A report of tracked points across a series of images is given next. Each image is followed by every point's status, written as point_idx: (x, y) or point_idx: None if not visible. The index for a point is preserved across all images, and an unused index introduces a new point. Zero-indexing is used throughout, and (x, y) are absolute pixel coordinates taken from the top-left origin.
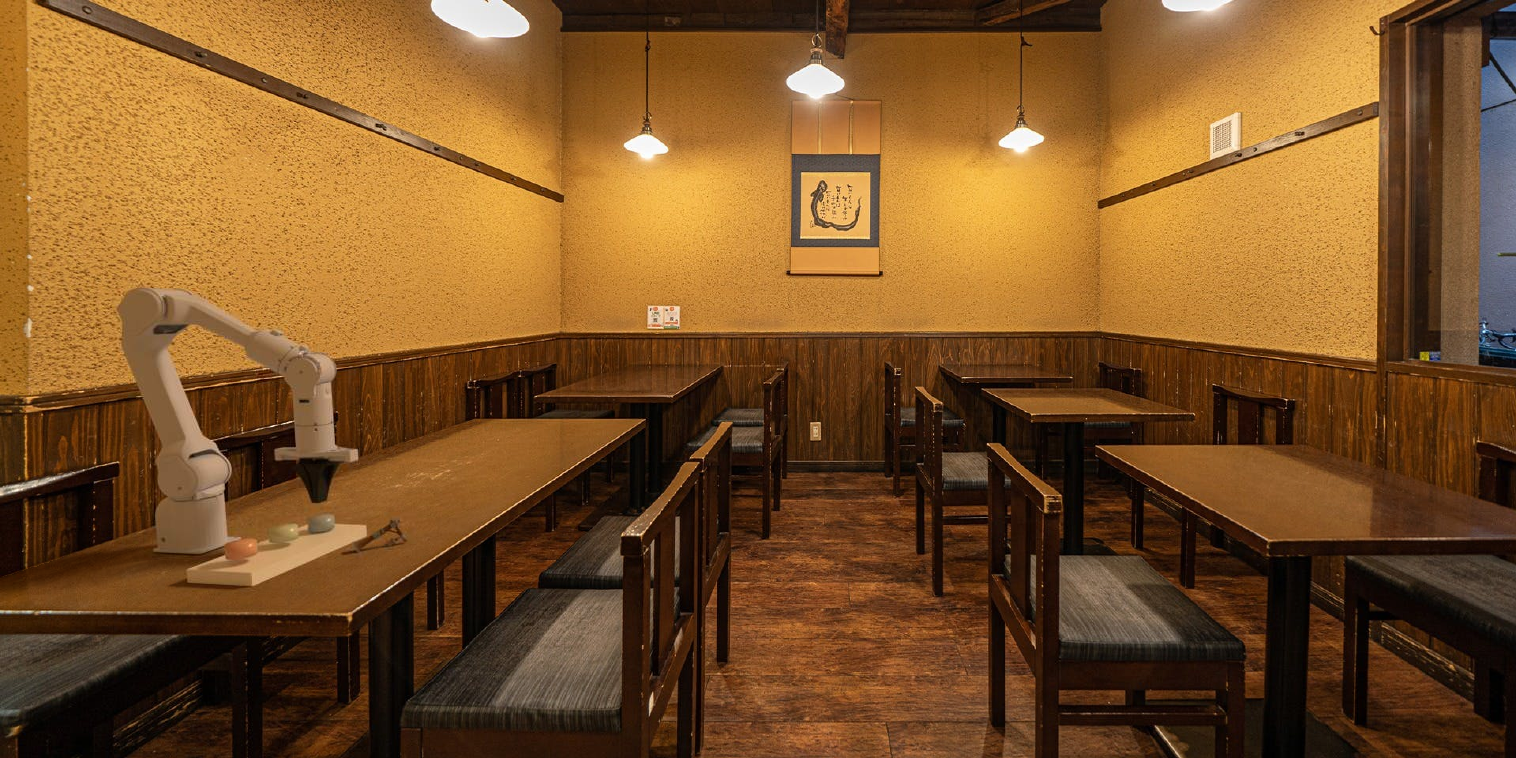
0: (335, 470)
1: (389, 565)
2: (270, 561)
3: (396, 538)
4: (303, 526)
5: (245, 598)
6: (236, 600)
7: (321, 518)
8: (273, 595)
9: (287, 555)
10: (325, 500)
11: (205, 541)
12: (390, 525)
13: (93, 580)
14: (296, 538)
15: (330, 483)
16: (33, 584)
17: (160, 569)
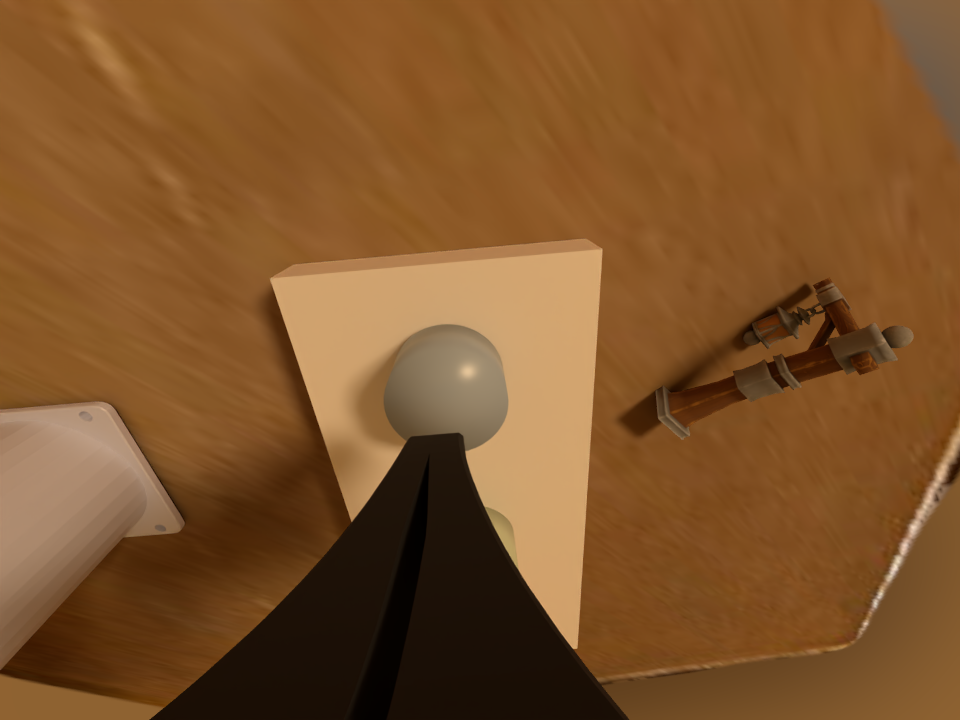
0: (557, 636)
1: (842, 473)
2: (557, 604)
3: (809, 322)
4: (297, 336)
5: (608, 644)
6: (598, 651)
7: (468, 418)
8: (654, 628)
9: (565, 571)
10: (464, 447)
11: (129, 525)
12: (845, 368)
13: (180, 652)
14: (512, 529)
15: (485, 513)
16: (94, 680)
17: (232, 597)
